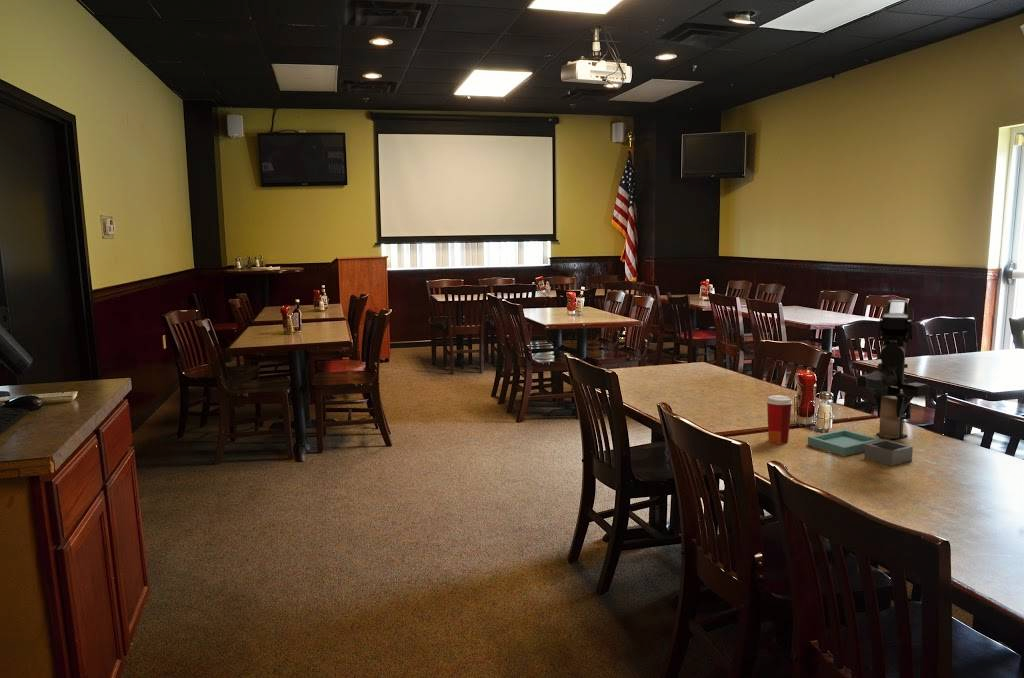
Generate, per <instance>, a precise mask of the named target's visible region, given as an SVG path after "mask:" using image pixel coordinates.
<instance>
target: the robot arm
mask: <svg viewBox="0 0 1024 678" xmlns="http://www.w3.org/2000/svg"><path fill="white" fill-rule="evenodd" d="M914 312H915V309H914V308H913V307H912V306H910V305H909V304H908V300H905V299H891V300H888V304H887V305H886V306H883V308H882V313H881V314H882V315H881V319H879V323H878V325H879V326H878V335H877V336H878V337H877V341H878V342H882V343H881V344H882V345H881V350H880V354H879V357H880V358H879V359H880V361H881V363H878V364H877V367H876V370H875V371H872V372H870V373H867V374H861V375H858V376H857V378H856V384H855V385H856V386H858V387H866V388H865V389H866V391H869V392H870V393H871V394H872V396H873V397H874V400H875V403H876V406H877V418H880V409H881V397H882V396H896V397H897V399H898V402H897V417H900V430H899V438H889V440H899V439H903V438H908V434H905V433H904V421H905V420H906V421H907V420H910V419H911V413H912V405H911V404H910V402H911V401H912V400H913V399H914V398H919V397H924V396H928V395H930V391H931V389H930V388H931V387H929V384H927V383H921V382H915V381H914V382H910V383H907V382H908V380H907V377H906V378H905V369H908V367H909V366H908V365H909V364H907V363H905V362H906V361H905V360H906V346H907V345H906V343H910V341H911V340H913V335H914V334H913V333H914V332H913V331H914ZM875 435H876V436H879V432H876V434H875Z"/></svg>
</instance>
